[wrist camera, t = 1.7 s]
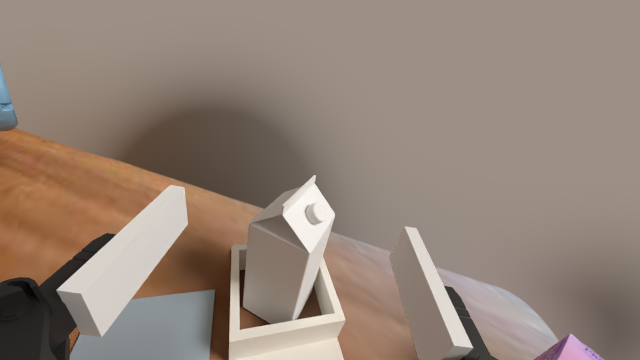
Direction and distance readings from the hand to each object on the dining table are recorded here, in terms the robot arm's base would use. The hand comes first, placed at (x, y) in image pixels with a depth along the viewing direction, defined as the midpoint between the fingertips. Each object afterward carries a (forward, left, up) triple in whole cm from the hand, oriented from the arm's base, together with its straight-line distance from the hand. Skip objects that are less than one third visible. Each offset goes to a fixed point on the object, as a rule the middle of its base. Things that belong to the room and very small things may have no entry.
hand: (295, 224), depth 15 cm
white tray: (-9, +3, -22) cm, 24 cm away
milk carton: (-9, +3, -23) cm, 25 cm away
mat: (-5, -12, -22) cm, 26 cm away
